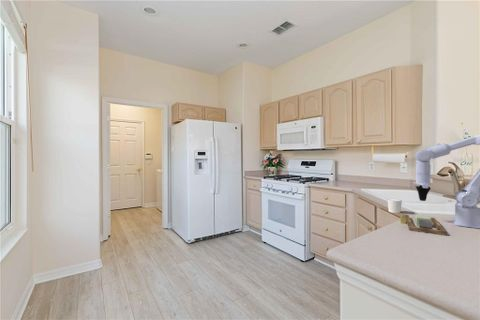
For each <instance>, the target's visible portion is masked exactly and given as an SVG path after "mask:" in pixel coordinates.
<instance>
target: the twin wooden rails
mask: <svg viewBox="0 0 480 320" xmlns="http://www.w3.org/2000/svg"><path fill="white" fill-rule="evenodd" d="M405 218H406V225H407V227H408V230H409V231H411V232H417V233H426V234H433V235H440V236H447V231H446V230H445V229H444V228H443V226H441V224H440V223H439V222H438V220H437V219H436V218H435V217H430V219H431V222H432V226H434V227H435V229H433V228H432V229H428V228H420V227H419V226H414V224H413V223H412V220H411V218H410V216H409V214H405Z"/></svg>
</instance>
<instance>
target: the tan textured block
mask: <svg viewBox="0 0 480 320" xmlns="http://www.w3.org/2000/svg"><path fill="white" fill-rule="evenodd" d="M400 214H401V215H400V216H399V218H400V220H399V222H400V224H405V225H407V222H406V218H405V215H406V214H405V213H400Z"/></svg>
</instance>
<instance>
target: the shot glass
mask: <svg viewBox="0 0 480 320" xmlns="http://www.w3.org/2000/svg"><path fill="white" fill-rule="evenodd" d="M402 202H403V201H402V200H401V199H396V198H388V199H387V207H388V212H389V213H392V214H401V210H402V204H403V203H402Z"/></svg>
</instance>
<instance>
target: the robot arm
mask: <svg viewBox="0 0 480 320" xmlns="http://www.w3.org/2000/svg"><path fill="white" fill-rule="evenodd" d="M472 145H474V146H475V145H476V146H480V134H479V135H474V136H473V135H472V136H470V137H467V138H464V139H460V140H458V141H455V142H452V143H449V144H447V143H443V142H442V143H441V142H439V143H436V145H434V146H431V147H425V148H424V149H421V150H419V151H417V152H416V153H415V155H414V158H415V160H416V161H415V163H416V164H415V181H413V182H412V184H414V185H417V186H415V189H416V191H417V194H418V199H419V201H421V202H426V201H427V196H428V194H429V192H430V191H431V187H430V186H431V184H432V183H431V159H432V160H433V159H436V158H441V157H445V156H447V155H450V153H451V152H452V151H455V150H458V149H461V148H465V147H468V146H472ZM454 199H455V201H456V203H455V204H454V207H455V208H454V220H452V221H451V222H452V223H453V224H454V225H455V226H457V227H463V228H465V227H467V228H473V229H480V207H478V204H479V201H480V168H479V169H478V170H477V172H476V173H475V174H474V176H473V177H472V178H471V179H470V181H469V182H468V183H467V185H465V186H464V187H463V188H462V189H461V190H459V191H457V192H455V194H454Z"/></svg>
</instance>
